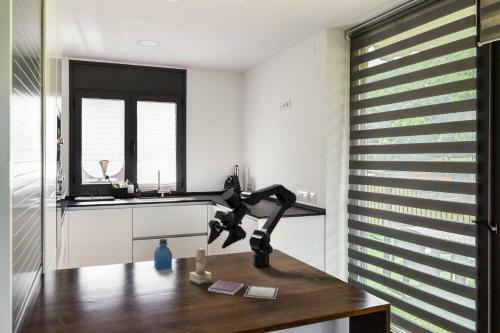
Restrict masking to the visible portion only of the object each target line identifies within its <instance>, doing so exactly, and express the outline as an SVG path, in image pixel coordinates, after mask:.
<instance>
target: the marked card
mask: <svg viewBox="0 0 500 333" xmlns="http://www.w3.org/2000/svg"><path fill="white" fill-rule="evenodd" d="M278 291H279V287H274V286H262V285H248V288H247V289H246V291H245V293H244V294H243V297H249V298H259V299H270V300H271V299H272V300H276V297H277V293H278Z"/></svg>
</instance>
